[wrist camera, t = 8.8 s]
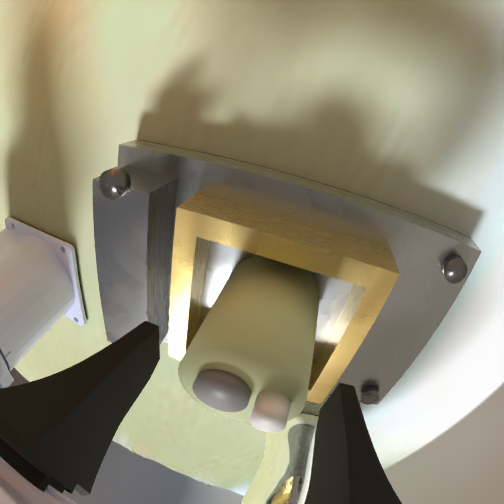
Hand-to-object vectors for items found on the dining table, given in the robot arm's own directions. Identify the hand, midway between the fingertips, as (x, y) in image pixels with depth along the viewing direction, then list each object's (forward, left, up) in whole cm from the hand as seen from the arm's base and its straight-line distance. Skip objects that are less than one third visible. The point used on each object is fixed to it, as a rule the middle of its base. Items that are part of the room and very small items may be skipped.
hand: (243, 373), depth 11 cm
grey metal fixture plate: (0, 0, -6) cm, 6 cm away
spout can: (0, 0, -5) cm, 5 cm away
